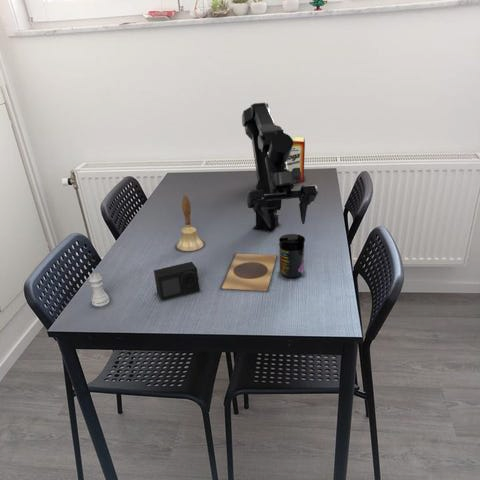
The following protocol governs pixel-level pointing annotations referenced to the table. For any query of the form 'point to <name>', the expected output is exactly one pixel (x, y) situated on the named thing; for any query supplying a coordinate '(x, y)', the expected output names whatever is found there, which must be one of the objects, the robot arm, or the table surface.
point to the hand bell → (188, 230)
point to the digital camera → (176, 280)
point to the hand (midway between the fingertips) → (287, 225)
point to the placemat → (250, 272)
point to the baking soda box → (297, 156)
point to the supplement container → (291, 256)
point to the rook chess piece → (98, 291)
